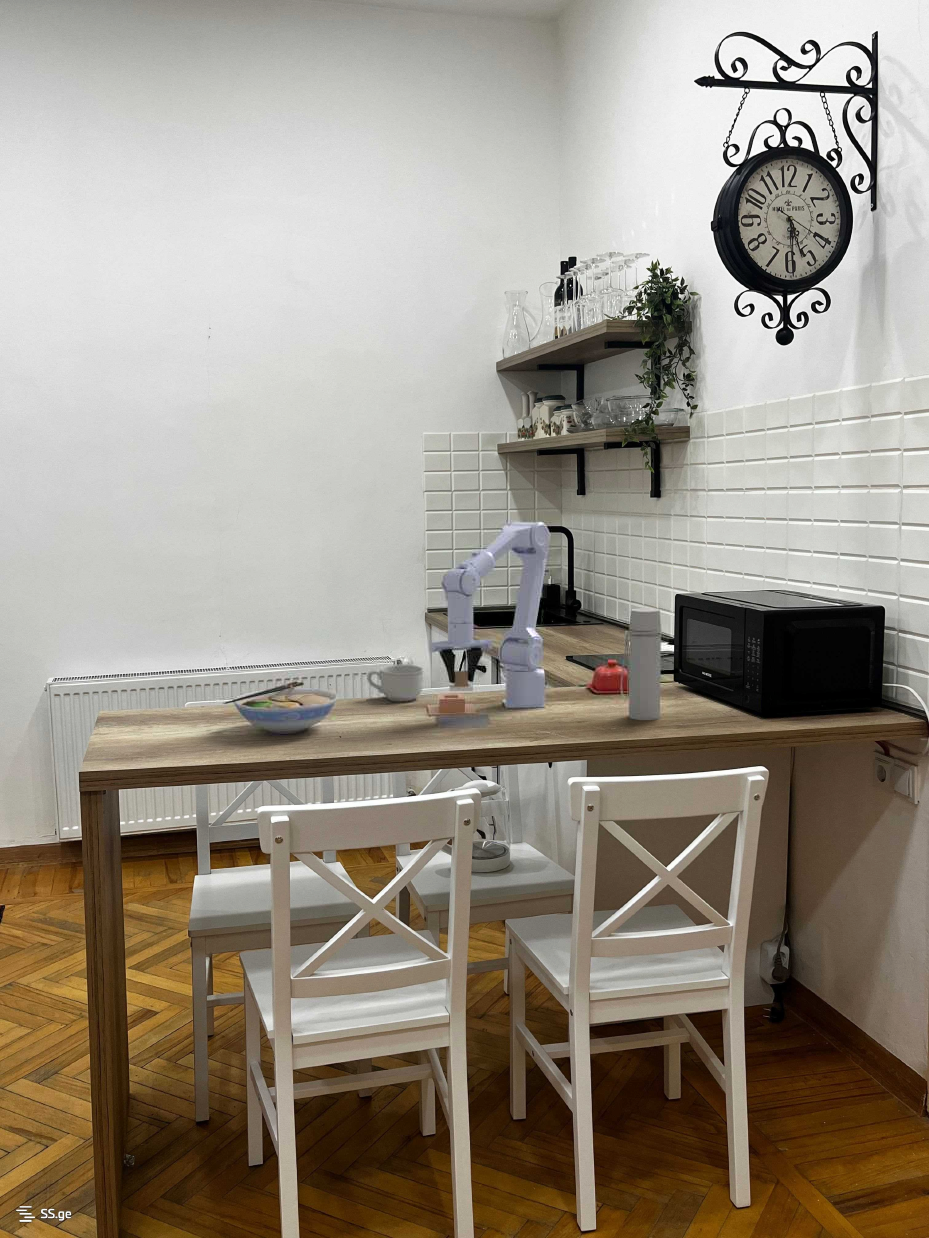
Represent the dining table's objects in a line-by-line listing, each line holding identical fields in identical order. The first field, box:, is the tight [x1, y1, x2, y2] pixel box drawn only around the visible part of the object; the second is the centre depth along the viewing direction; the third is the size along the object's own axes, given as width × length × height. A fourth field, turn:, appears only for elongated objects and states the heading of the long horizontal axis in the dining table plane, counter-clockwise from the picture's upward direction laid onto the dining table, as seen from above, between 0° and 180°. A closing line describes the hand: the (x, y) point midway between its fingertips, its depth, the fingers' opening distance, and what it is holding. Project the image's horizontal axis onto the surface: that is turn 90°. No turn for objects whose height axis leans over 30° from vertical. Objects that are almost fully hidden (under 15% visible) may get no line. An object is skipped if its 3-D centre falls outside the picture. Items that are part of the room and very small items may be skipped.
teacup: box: [366, 664, 424, 702], centre depth 268 cm, size 14×11×8 cm
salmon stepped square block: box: [426, 693, 478, 717], centre depth 253 cm, size 11×11×4 cm
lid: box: [449, 670, 474, 692], centre depth 242 cm, size 5×5×4 cm
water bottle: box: [620, 607, 663, 721], centre depth 241 cm, size 9×8×25 cm
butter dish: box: [586, 659, 627, 695], centre depth 275 cm, size 12×12×8 cm
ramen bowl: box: [222, 681, 339, 735], centre depth 234 cm, size 25×23×8 cm
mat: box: [435, 714, 493, 729], centre depth 241 cm, size 12×12×1 cm
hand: (461, 681), depth 242 cm, fingers closed on lid, 4 cm apart
